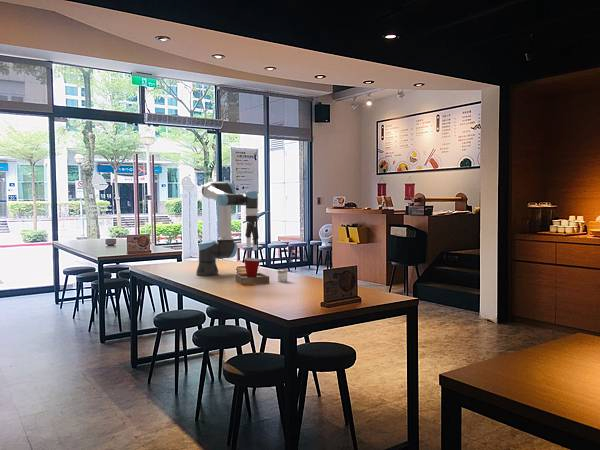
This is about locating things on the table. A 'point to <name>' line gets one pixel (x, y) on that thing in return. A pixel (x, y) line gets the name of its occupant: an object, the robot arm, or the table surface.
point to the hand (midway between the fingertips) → (251, 249)
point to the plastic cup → (251, 266)
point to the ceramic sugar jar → (282, 275)
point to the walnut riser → (252, 279)
